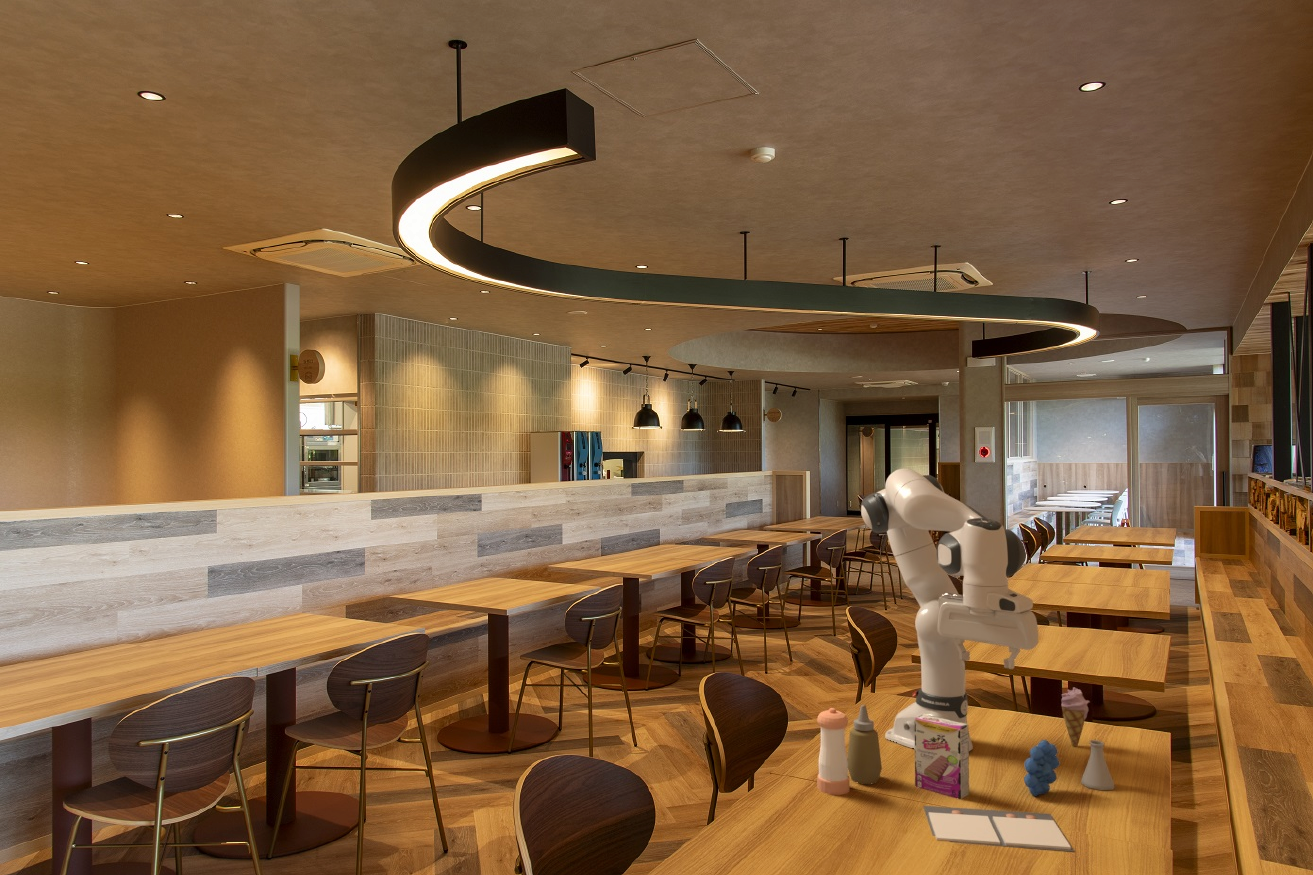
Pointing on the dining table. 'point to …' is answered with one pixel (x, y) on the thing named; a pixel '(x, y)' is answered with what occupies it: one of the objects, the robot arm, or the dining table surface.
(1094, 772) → the flask
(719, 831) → the dining table surface
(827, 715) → the pepper shaker
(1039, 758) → the grapes
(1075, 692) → the ice cream cone
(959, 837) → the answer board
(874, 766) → the squeeze bottle
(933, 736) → the candy bar box
